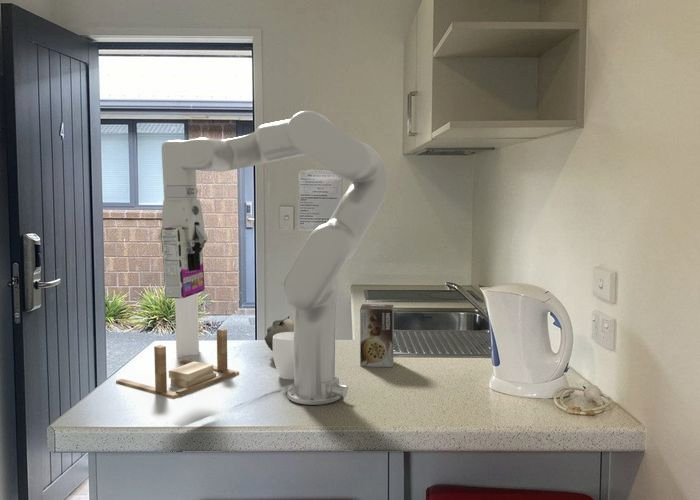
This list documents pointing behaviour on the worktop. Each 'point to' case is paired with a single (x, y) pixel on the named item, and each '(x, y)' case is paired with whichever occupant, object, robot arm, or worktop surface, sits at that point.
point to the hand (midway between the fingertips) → (184, 268)
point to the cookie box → (376, 335)
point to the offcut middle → (192, 382)
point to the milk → (187, 326)
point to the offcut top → (190, 371)
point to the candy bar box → (179, 265)
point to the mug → (284, 354)
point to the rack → (161, 363)
